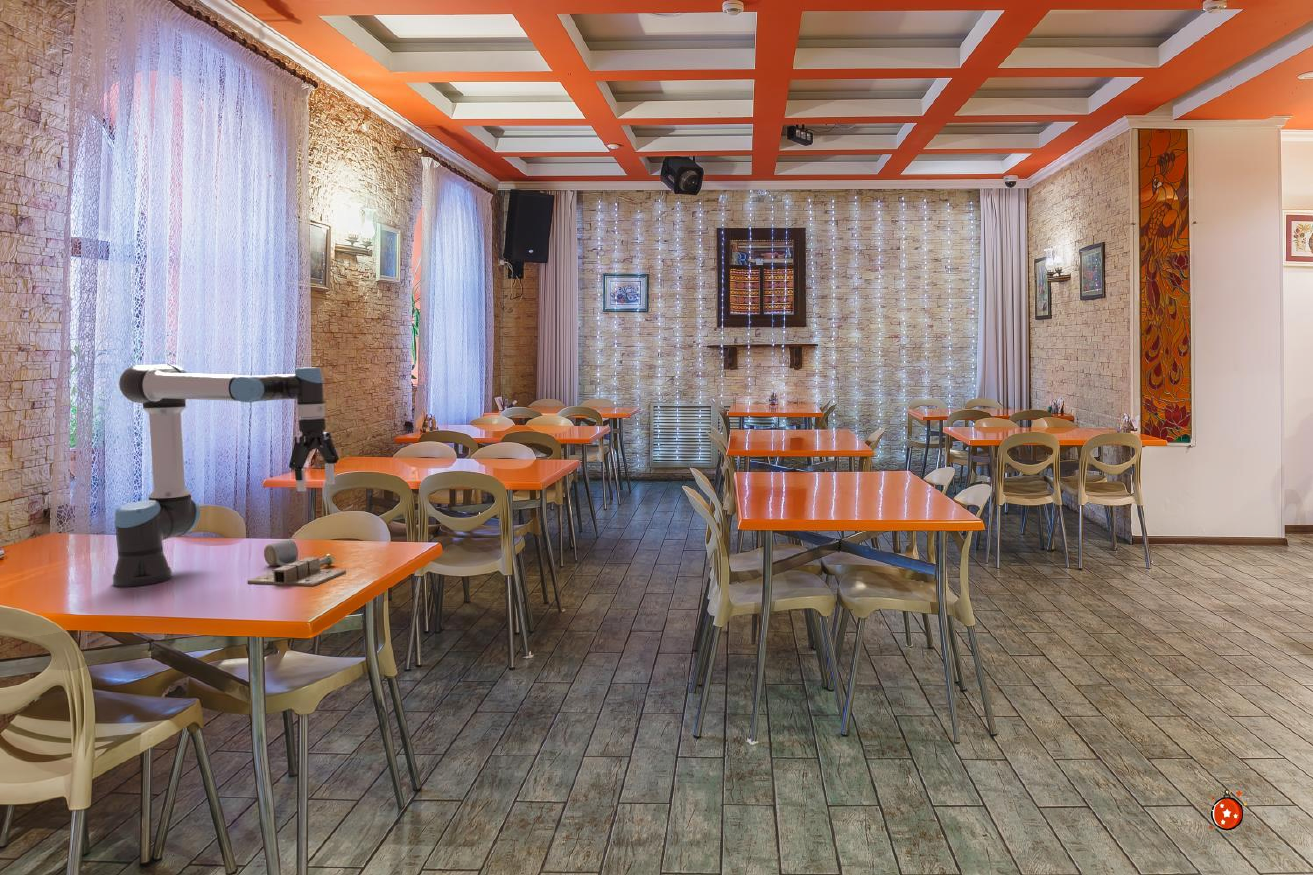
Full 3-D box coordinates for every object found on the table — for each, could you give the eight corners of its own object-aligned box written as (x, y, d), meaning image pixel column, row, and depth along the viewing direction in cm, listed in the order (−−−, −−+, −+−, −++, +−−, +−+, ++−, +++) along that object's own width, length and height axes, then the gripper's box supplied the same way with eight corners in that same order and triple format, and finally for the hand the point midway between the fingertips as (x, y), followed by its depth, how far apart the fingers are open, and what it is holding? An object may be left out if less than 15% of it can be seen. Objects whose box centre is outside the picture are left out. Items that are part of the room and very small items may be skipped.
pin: (300, 578, 254) (299, 567, 254) (290, 577, 255) (289, 566, 255) (335, 564, 271) (334, 554, 270) (325, 564, 272) (325, 553, 271)
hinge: (313, 586, 245) (312, 571, 245) (247, 583, 250) (246, 568, 250) (345, 572, 261) (345, 558, 260) (283, 570, 266) (282, 556, 265)
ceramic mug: (263, 565, 273) (261, 541, 272) (287, 560, 280) (285, 537, 279) (280, 570, 267) (278, 546, 266) (304, 564, 273) (303, 541, 272)
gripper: (294, 421, 245) (299, 494, 247) (347, 415, 269) (351, 481, 271) (272, 421, 247) (277, 493, 249) (327, 415, 271) (331, 481, 273)
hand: (316, 487), depth 260 cm, fingers open, 13 cm apart
